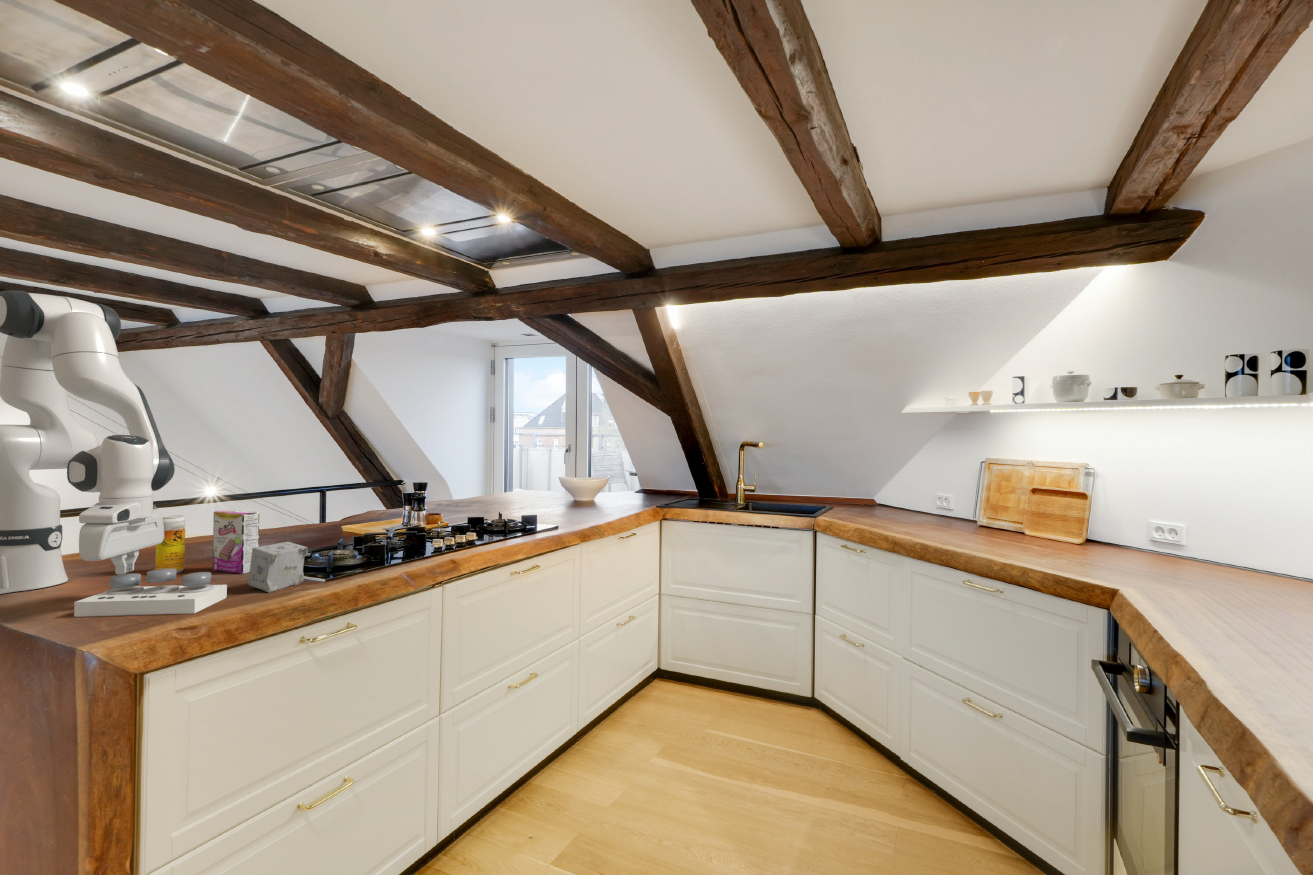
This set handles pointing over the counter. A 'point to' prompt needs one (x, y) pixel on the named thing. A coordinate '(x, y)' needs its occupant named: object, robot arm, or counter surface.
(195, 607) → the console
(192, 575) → the button one
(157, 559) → the beer can
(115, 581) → the button two
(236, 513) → the candy bar box
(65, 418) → the robot arm
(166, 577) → the button three
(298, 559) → the grey stone block
